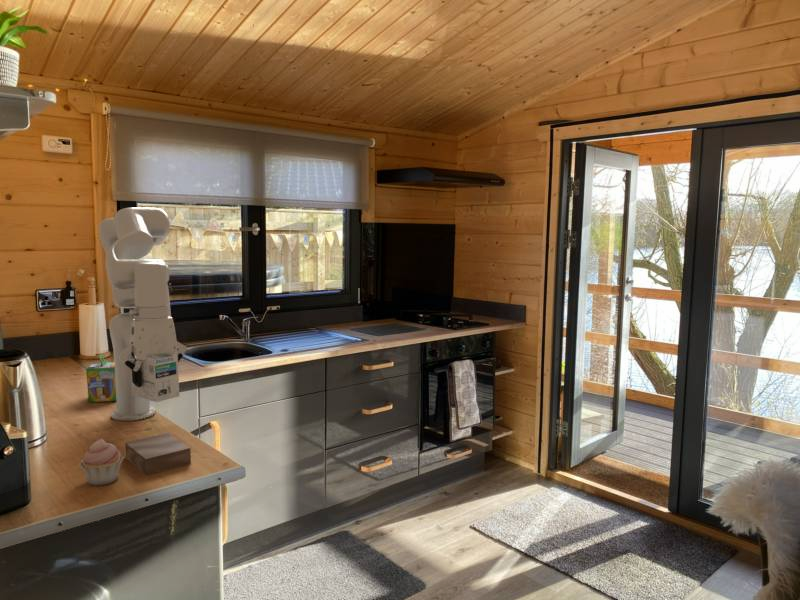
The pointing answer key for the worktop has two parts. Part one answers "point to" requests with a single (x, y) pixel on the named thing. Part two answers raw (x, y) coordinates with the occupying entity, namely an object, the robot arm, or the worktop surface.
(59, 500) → the worktop surface
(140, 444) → the walnut base block
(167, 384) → the light bulb box
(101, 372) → the chalk box
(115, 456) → the cupcake
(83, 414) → the worktop surface
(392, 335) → the worktop surface
